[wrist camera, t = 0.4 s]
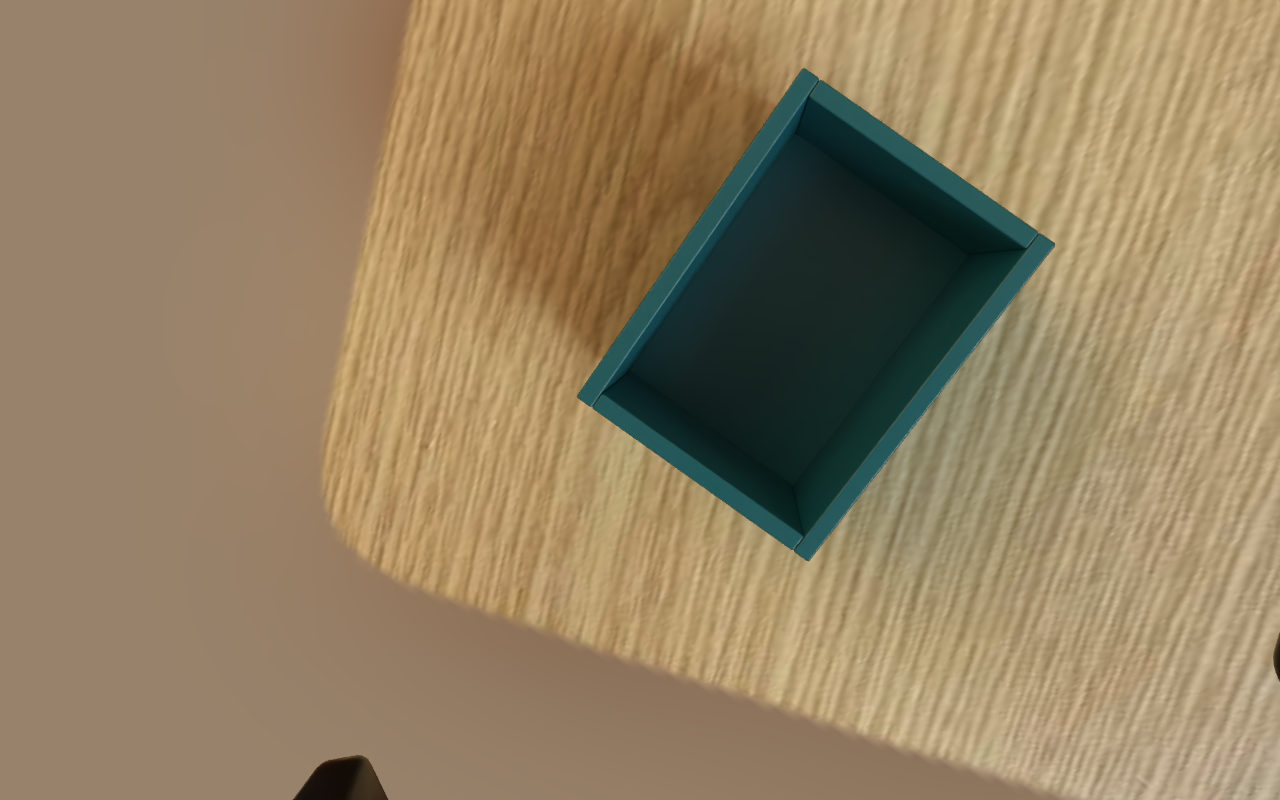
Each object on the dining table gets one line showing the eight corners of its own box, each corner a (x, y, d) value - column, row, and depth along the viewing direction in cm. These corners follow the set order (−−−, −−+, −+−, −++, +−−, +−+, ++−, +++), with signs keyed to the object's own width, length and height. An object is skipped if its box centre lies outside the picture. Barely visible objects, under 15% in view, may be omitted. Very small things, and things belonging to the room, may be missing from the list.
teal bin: (987, 250, 22) (1056, 243, 17) (795, 503, 24) (808, 563, 19) (790, 112, 22) (803, 66, 17) (611, 372, 24) (575, 397, 19)
